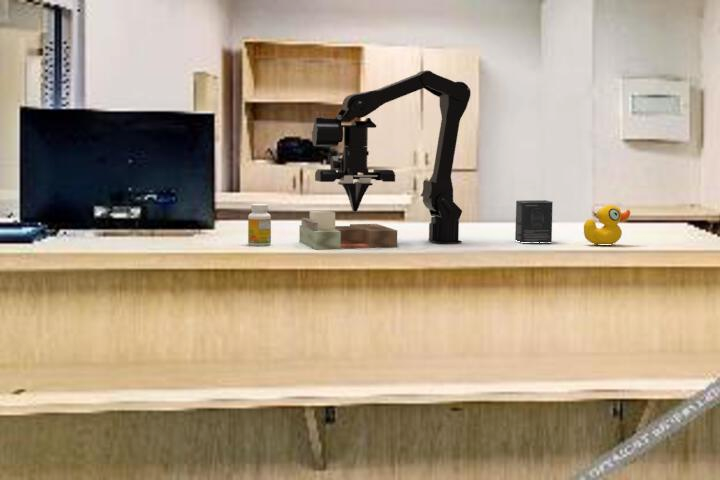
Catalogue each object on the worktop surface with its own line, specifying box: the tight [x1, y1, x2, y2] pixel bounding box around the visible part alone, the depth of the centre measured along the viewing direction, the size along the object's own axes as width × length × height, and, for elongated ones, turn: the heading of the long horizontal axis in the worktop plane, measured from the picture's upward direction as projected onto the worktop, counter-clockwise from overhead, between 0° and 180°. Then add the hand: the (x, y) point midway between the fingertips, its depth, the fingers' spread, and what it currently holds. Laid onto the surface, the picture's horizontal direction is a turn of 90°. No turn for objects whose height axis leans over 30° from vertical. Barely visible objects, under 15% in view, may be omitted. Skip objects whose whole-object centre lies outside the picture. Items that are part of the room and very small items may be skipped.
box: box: [514, 199, 553, 244], centre depth 235 cm, size 8×6×11 cm
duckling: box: [583, 204, 631, 245], centre depth 231 cm, size 11×5×10 cm, turn 95°
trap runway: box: [298, 217, 398, 250], centre depth 227 cm, size 20×16×6 cm
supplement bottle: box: [247, 203, 272, 247], centre depth 223 cm, size 5×5×10 cm
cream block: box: [309, 210, 336, 230], centre depth 224 cm, size 5×5×4 cm
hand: (354, 211), depth 227 cm, fingers closed
